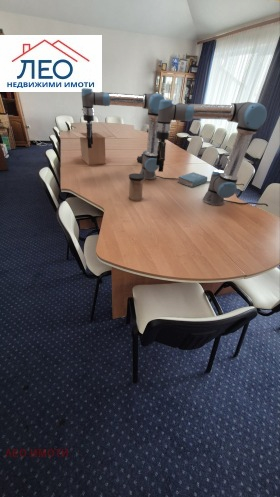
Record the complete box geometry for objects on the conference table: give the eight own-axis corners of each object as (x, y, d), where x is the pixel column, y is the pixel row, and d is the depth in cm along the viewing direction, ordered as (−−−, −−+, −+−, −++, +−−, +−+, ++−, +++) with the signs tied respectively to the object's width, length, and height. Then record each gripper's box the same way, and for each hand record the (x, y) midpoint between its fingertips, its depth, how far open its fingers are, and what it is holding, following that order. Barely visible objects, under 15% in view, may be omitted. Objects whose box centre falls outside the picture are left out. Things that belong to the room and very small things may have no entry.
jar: (126, 197, 166) (126, 176, 156) (135, 194, 172) (136, 173, 162) (135, 201, 161) (136, 179, 151) (144, 198, 167) (146, 176, 157)
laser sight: (156, 165, 238) (157, 155, 232) (135, 163, 241) (136, 153, 235) (157, 163, 245) (158, 153, 240) (137, 160, 248) (138, 151, 242)
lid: (125, 177, 157) (125, 175, 156) (136, 174, 164) (136, 172, 163) (136, 182, 152) (137, 179, 150) (147, 178, 158) (147, 176, 157)
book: (192, 177, 213) (193, 172, 210) (206, 182, 204) (207, 177, 201) (177, 182, 200) (178, 176, 197) (192, 187, 191) (193, 182, 188)
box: (116, 165, 229) (116, 136, 213) (83, 168, 214) (80, 137, 198) (102, 154, 259) (101, 128, 243) (71, 156, 244) (68, 129, 228)
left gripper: (84, 112, 170) (87, 142, 182) (81, 116, 150) (84, 149, 163) (94, 112, 171) (96, 142, 183) (92, 116, 151) (94, 149, 163)
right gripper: (154, 127, 139) (152, 162, 152) (159, 134, 119) (155, 174, 132) (166, 128, 139) (162, 162, 152) (172, 135, 119) (167, 174, 132)
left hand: (90, 146), depth 173 cm, fingers open, 13 cm apart
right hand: (159, 168), depth 142 cm, fingers open, 13 cm apart
